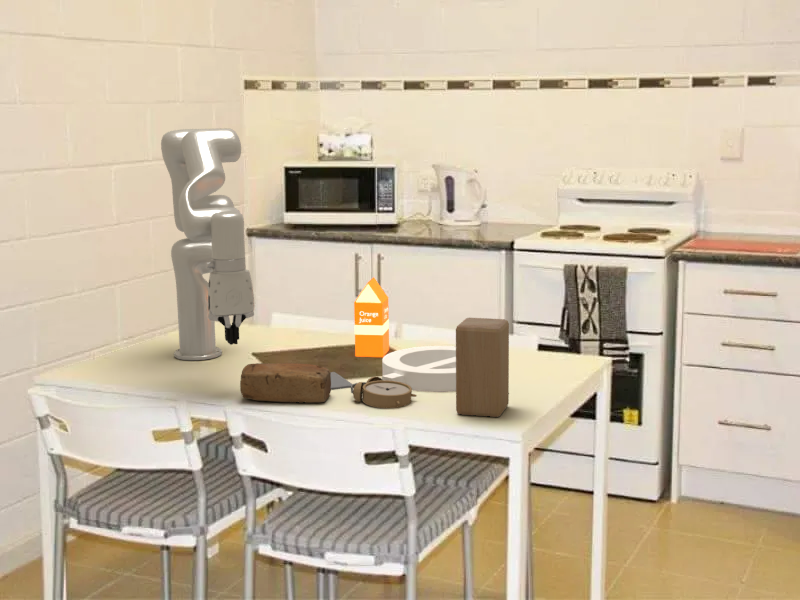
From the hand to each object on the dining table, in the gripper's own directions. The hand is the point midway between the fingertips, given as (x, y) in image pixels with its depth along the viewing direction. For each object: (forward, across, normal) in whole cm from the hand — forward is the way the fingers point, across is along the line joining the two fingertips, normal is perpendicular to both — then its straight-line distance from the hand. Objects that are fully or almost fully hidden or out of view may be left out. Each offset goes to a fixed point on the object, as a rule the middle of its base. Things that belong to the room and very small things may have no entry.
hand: (232, 343), depth 270 cm
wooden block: (+12, +45, -39) cm, 61 cm away
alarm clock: (+13, +28, -21) cm, 37 cm away
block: (+8, +1, -4) cm, 9 cm away
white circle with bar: (+13, +50, -8) cm, 52 cm away
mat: (+12, +16, 0) cm, 20 cm away
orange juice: (+12, +44, +22) cm, 51 cm away
